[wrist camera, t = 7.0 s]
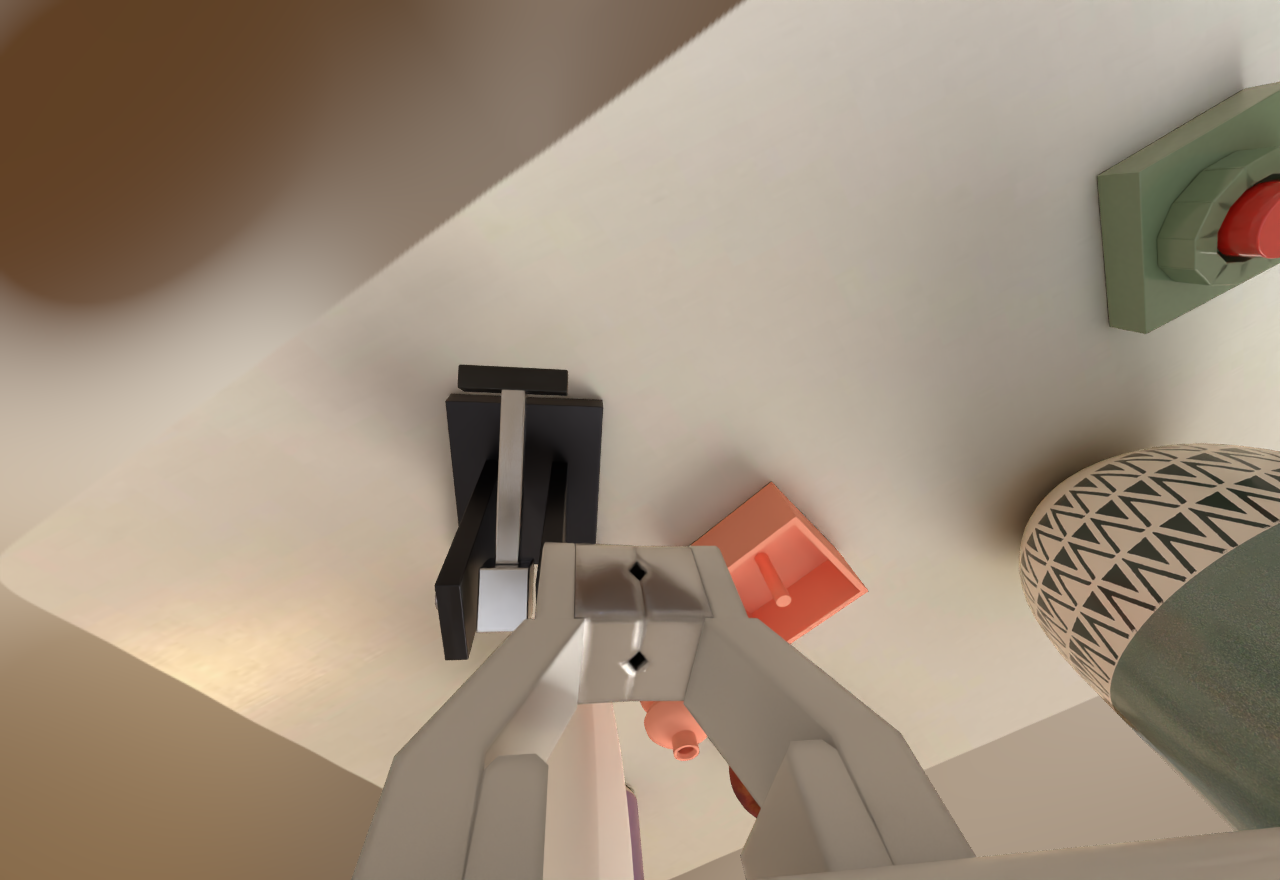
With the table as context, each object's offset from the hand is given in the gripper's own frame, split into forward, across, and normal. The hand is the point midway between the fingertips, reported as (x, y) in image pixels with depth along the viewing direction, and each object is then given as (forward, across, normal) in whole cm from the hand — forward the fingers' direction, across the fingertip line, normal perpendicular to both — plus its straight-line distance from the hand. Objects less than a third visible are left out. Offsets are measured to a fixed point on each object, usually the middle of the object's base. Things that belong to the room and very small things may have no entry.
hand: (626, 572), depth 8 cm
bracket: (+20, +4, +11) cm, 23 cm away
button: (+17, -33, -9) cm, 39 cm away
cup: (+20, 0, +31) cm, 37 cm away
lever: (+13, +4, +7) cm, 16 cm away
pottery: (+20, -11, +20) cm, 30 cm away
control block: (+20, -34, -9) cm, 40 cm away
